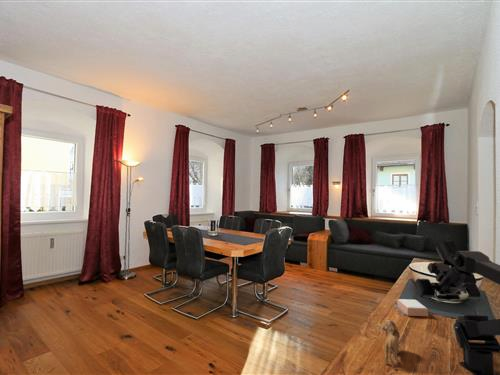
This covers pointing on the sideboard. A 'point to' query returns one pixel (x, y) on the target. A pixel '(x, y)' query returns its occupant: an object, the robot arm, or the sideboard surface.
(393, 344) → the dog figurine
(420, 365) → the sideboard surface
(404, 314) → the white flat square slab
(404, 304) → the tile
